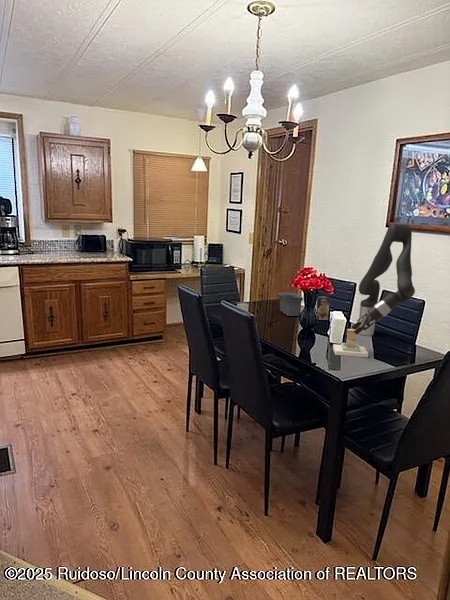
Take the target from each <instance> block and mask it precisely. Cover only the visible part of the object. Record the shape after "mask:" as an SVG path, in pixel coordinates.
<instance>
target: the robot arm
mask: <svg viewBox="0 0 450 600" xmlns="http://www.w3.org/2000/svg"><path fill="white" fill-rule="evenodd" d="M412 234H413V233H412V228H411V226H410V225H408V224H402V223H392V224H390V225H389V227H387V230H386V232H385V235H384V237H383V240H382V242H381V245H380V247H379V249H378V251H377V252H376V254H375V256H374V258H373V260H372V263H371V265H370V267H369V268H368V270H367V272H366V273H365V275H364V276H363V277H362V279H361V280H360V283H359V286H358V292H359V294H360V295H363V296H368V297H367V298H364V299H362V300H360V305H359V316H358V319H357V321H356V323H354V324H353V325H352V326H351V329H356V330H355V331H354V332H355V334H356V335H360V336H369V337H370V336H374V332H375V323H376V322H377V323H378V322H379V321H381V320H382V319H383V318H385V317H386V316H387V315H388V314H389V313H390V312H392V311H393V310H394V309H395V308H396V307H397V306H399V305H400V304H402V303H405V302H406V301H408V300H410V299H411V298H412V297H413V296H414V295H415V293H416V289H415V287H414V284H413V280H412V279H413V278H412V277H413V269H412V259H411V257H412V255H411V254H412V238H413V237H412ZM393 243H402V250H401V252H400V254H399V256H398V257H397V260H396V263H395V266H396V276H397V280H396V281H397V282H396V283H397V285H396V287H397V291H395V292H393V293H389V294H387V295H385V297H382V299H381V300H379V296H380V290H381V285H380V282H379V280H378V279H377V278H378V277H380V276H382V275H384V274H385V273H386V272H387V271H388V270H389V268H390V266H391V264H392V263H393V254H392V250H391V247H392V245H393Z"/></svg>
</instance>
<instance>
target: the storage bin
mask: <svg viewBox="0 0 450 600" xmlns="http://www.w3.org/2000/svg"><path fill="white" fill-rule="evenodd" d="M277 294H278V297H279V312H280V311H282V312H283V313H284V314H286V315H287V316H295V315H297V316H300V312H301V311H300V310H301V305H302V303H303V301H304V296H302V295H299V294H297V293H295V292H278V293H277ZM284 314H283V315H284ZM286 315H285V316H286ZM287 316H286V317H287Z"/></svg>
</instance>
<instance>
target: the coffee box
mask: <svg viewBox="0 0 450 600" xmlns="http://www.w3.org/2000/svg"><path fill="white" fill-rule="evenodd" d="M317 296H318V298H317V301H316V305H315V309H316V312H317V315H318V319H319V320H329V311H330V301H331V297H329V296H327V295H317Z"/></svg>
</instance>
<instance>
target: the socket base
mask: <svg viewBox="0 0 450 600" xmlns="http://www.w3.org/2000/svg"><path fill="white" fill-rule="evenodd" d="M332 349H333V352H334V355H335V356H345V357H347V356H348V357H360V358H369V351H367V349H366V347H365V346H362V345H361V346H360V345H359V344H358V343H356V344H355V348H346V343H344V342H341V343H340V344H336V343H335V344H332Z"/></svg>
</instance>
